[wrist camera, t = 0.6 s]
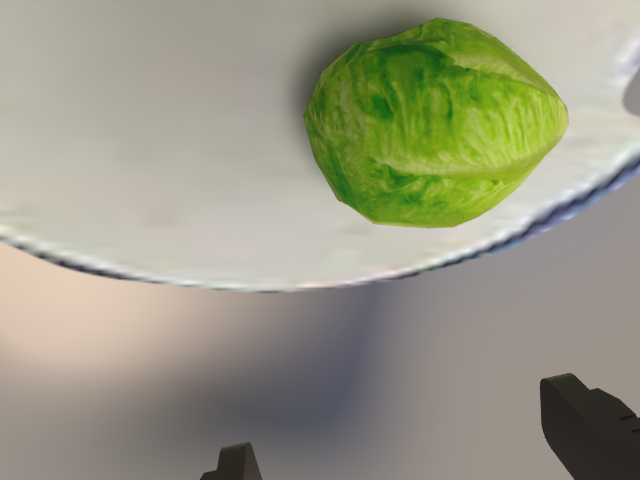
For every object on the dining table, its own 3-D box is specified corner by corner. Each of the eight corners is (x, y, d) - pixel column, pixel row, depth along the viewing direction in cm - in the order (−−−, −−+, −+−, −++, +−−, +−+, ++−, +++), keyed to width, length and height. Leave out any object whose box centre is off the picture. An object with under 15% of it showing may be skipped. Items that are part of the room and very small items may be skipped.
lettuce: (495, 184, 44) (571, 276, 33) (292, 177, 41) (303, 275, 30) (561, 13, 35) (694, 63, 24) (305, -12, 32) (327, 33, 21)
